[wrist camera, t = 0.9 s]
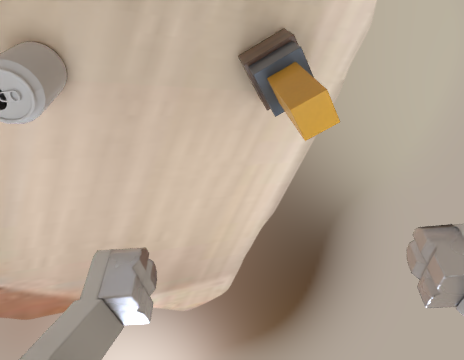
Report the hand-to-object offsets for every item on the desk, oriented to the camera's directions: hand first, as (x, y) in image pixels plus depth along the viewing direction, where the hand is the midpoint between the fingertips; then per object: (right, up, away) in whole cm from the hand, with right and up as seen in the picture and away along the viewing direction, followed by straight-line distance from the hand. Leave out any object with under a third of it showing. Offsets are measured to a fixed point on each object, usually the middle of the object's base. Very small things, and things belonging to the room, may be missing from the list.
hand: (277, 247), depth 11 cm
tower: (+5, +19, +42) cm, 46 cm away
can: (-28, +17, +38) cm, 50 cm away
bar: (+6, +14, +34) cm, 37 cm away
